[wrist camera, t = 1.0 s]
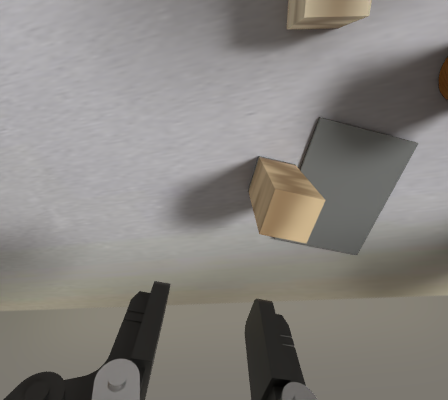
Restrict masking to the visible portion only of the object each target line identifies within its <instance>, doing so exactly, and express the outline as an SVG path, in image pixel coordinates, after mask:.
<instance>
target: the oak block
mask: <svg viewBox="0 0 448 400" xmlns="http://www.w3.org/2000/svg"><path fill="white" fill-rule="evenodd" d="M248 191H249V195H250V199H251V203H252V207H253V211H254V215H255V219H256V223H257V226H258V230H259V234H262V235H267V236H271V237H276V238H281V239H286V240H291V241H296V242H301V243H307V241H308V239H309V237H310V234H311V232H312V230H313V228H314V225H315V223H316V221H317V218H318V216H319V214H320V212H321V209H322V207H323V205H324V203H325V199H324V198H323V197H322V195H321V194H320V193H319V192H318V191H317V190H316V188H315V187H314V186H313V185H312V184H311V183H310V181H309V180H308V179H307V178H306V177H305V176H304V174H303V173H302V172H301V171H300V170H299V169H298V167H297V166H296V165H295V164H290V163H286V162H282V161H278V160H273V159H269V158H265V157H261V156H259V157H258V160H257V164H256V167H255V170H254V173H253V177H252V180H251V183H250V187H249V190H248Z"/></svg>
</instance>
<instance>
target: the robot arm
mask: <svg viewBox="0 0 448 400" xmlns="http://www.w3.org/2000/svg"><path fill="white" fill-rule="evenodd" d="M169 289H170V284H168V283H162V282H157V281H154V284H153V287H152V290H151V293H147V292H141V291H139V292H138V293H137V294H136V295H135V296H134V297H133V298H132V299H131V301H130V304H129V307H128V309H127V312H126V314H125V317H124V320H123V322H122V325H121V327H120V330H119V333H118V335H117V337H116V340H115V343H114V345H113V348H112V350H111V353H110V355H109V357H108V359H107V361H106V362H105V363H104V364H103V366H101V367H100V368H99V369H98V370H97V371H95V372H93V373H91V374H89V375H86V376H82V377H77V378H73V379H68V380H63V378H61V376H60V375H58V374H56V373H54V372H41V373H38V374H35V375H32V376H30V377H29V378H27V379H25V380H24V381H23V382H21V383H20V384H19V385H18V386H17V387H16V388H15V389H14V390H13V391H12V392H11V393H10V394H9V395H8V396H7V397H6V398H5V399H4V400H145V397H146V393H147V388H148V384H149V380H150V375H151V371H152V366H153V362H154V358H155V353H156V349H157V344H158V340H159V335H160V331H161V326H162V322H163V318H164V313H165V308H166V304H167V299H168V294H169ZM291 337H292V336H291V332H290V328H289V325H288V324H287V322H286V321H285V319H284V318H283V316H282V315H279V314H275V310H274V306H273V303H272V301H267V300H261V299H255V301H254V303H253V306H252V308H251V311H250V313H249V316H248V318H247V321H246V325H245V341H246V350H247V360H248V371H249V381H250V390H251V400H317V398H316V396H315V395H314V393H312V391H311V390H310V389H309V388H308V387H306V385H305V382H304V378H303V375H302V371H301V368H300V364H299V361H298V357H297V353H296V350H295V348H294V343H293V339H292V338H291Z"/></svg>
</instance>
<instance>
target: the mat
mask: <svg viewBox="0 0 448 400" xmlns="http://www.w3.org/2000/svg"><path fill="white" fill-rule="evenodd" d="M417 145H418V143H416V142H412V141H408V140H405V139H401V138H397V137H393V136H389V135H385V134H382V133H378V132H374V131H370V130H366V129H362V128H359V127H355V126H351V125H347V124H343V123H339V122H335V121H332V120H328V119H324V118H320V117H319V120H318V122H317V125H316V128H315V130H314V133H313V136H312V138H311V141H310V144H309V146H308V149H307V152H306V154H305V157H304V160H303V162H302V165H301V167H300V171H301V172H302V173H303V174H304V176H305V177H306V178H307V179H308V180H309V181H310V183H311V184H312V185H313V186H314V187H315V188H316V190H317V191H318V192H319V193H320V194H321V195H322V197H323V198H324V199H325V203H324V205H323V207H322V209H321V212H320V214H319V216H318V218H317V221H316V223H315V225H314V228H313V230H312V232H311V234H310V237H309V239H308V241H307V243H301V242H296V241H291V240H286V239H281V238H276V237H274V238H275V239H278V240H283V241H288V242H293V243H298V244H303V245H308V246H313V247H318V248H323V249H328V250H333V251H338V252H343V253H348V254H353V255H357V254H358V253H359V251H360V249H361V247H362V245H363V243H364V242H365V240H366V238H367V236H368V234H369V232H370V231H371V229H372V227H373V225H374V223H375V222H376V220H377V218H378V216H379V214H380V212H381V211H382V209H383V207H384V205H385V203H386V202H387V200H388V198H389V196H390V194H391V192H392V191H393V189H394V187H395V185H396V183H397V181H398V180H399V178H400V176H401V174H402V172H403V171H404V169H405V167H406V165H407V163H408V161H409V160H410V158H411V156H412V154H413V152H414V150H415V149H416V147H417Z"/></svg>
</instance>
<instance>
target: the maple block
mask: <svg viewBox="0 0 448 400" xmlns="http://www.w3.org/2000/svg"><path fill="white" fill-rule="evenodd" d="M371 2H372V0H288V14H287V30H290V29H329V28H340V27H342V26H345V25H347V24H350V23H352V22H355V21H357V20H360V19H363V18H365V17H368V16H369V13H370V7H371Z"/></svg>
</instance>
